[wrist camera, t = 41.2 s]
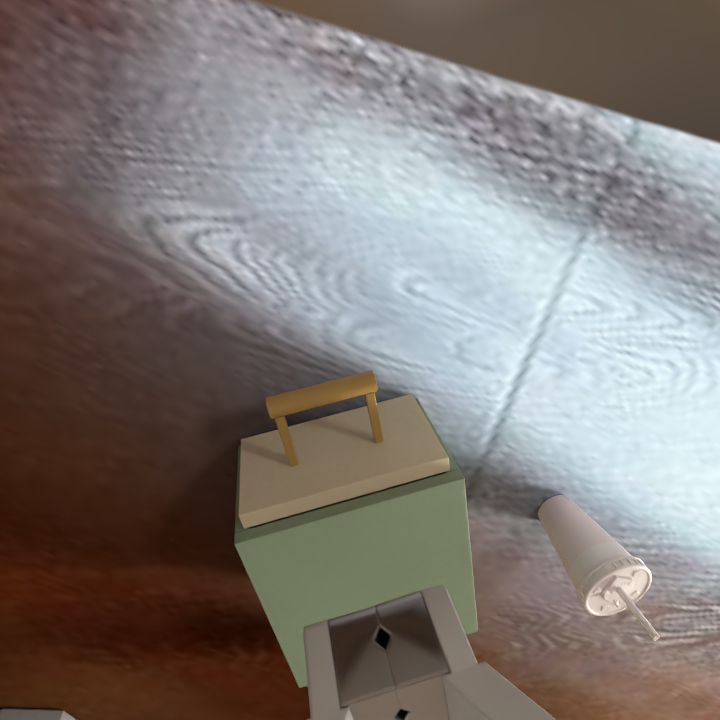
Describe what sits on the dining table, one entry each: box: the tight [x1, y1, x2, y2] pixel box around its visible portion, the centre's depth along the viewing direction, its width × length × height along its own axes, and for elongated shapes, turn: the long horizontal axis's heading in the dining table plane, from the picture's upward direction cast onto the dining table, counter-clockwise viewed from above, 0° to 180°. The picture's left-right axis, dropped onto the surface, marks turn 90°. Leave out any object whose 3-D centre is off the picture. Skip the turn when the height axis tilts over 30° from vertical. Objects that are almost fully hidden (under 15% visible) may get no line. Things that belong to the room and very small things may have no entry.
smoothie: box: [538, 495, 660, 641], centre depth 42 cm, size 6×6×14 cm
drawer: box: [238, 370, 450, 529], centre depth 35 cm, size 21×14×8 cm, turn 10°
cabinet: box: [234, 398, 478, 688], centre depth 38 cm, size 17×15×10 cm
